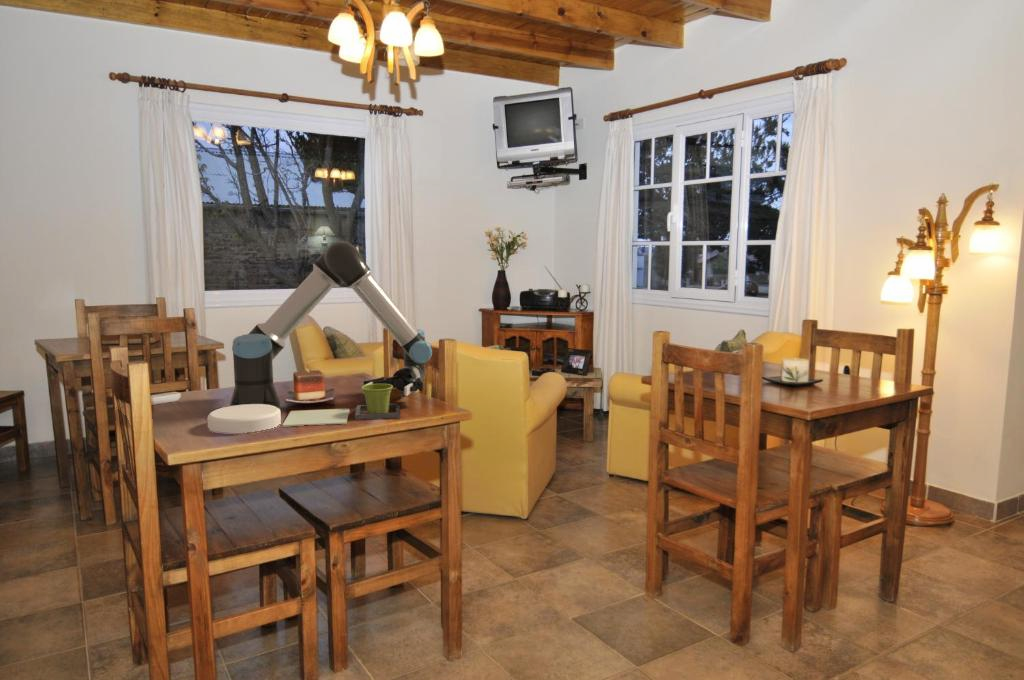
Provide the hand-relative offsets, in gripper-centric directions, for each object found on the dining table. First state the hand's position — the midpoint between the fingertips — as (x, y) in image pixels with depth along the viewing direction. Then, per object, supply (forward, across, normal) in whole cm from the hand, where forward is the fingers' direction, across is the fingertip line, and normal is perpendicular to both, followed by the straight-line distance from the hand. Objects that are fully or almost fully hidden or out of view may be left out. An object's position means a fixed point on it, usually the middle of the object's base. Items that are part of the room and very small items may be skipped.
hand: (384, 390), depth 226 cm
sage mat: (+13, +17, -6) cm, 22 cm away
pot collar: (+5, +1, -6) cm, 8 cm away
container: (+24, +34, -7) cm, 42 cm away
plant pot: (+5, +1, -7) cm, 8 cm away
